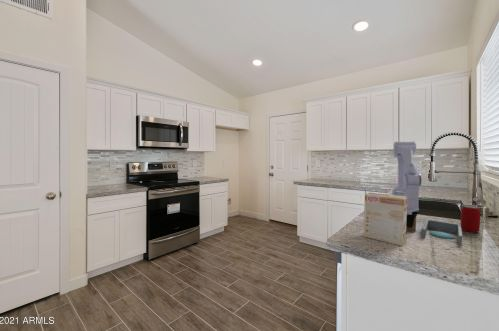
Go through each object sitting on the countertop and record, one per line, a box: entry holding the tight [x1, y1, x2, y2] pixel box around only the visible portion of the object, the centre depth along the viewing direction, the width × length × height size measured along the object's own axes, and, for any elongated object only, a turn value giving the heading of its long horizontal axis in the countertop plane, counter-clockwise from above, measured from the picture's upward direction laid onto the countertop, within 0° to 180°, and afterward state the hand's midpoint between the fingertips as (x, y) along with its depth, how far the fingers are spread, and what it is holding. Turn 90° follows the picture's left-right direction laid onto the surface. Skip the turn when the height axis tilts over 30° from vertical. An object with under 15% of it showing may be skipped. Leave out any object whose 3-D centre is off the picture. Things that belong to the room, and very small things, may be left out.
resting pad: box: [429, 230, 456, 240], centre depth 106 cm, size 9×9×1 cm
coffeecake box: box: [363, 192, 407, 247], centre depth 101 cm, size 15×7×20 cm, turn 45°
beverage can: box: [460, 204, 482, 234], centre depth 112 cm, size 7×7×12 cm
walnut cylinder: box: [406, 216, 417, 232], centre depth 113 cm, size 4×4×7 cm
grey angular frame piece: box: [421, 218, 463, 246], centre depth 106 cm, size 20×13×4 cm, turn 139°
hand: (410, 226), depth 113 cm, fingers closed on walnut cylinder, 4 cm apart
